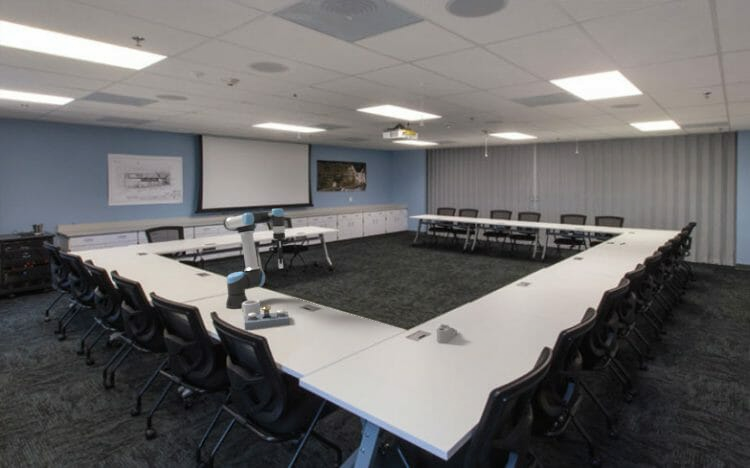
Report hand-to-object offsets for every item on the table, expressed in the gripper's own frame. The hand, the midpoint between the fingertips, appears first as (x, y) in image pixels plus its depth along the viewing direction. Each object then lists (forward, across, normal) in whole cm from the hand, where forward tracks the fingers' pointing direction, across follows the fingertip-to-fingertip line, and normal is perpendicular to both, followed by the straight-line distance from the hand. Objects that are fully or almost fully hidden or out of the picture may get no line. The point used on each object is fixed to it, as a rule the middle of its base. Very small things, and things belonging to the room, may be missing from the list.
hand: (280, 268), depth 271 cm
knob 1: (+30, +17, -20) cm, 39 cm away
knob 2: (+30, +17, -2) cm, 34 cm away
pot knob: (+26, +17, -11) cm, 33 cm away
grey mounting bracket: (+31, +76, +82) cm, 116 cm away
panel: (+30, +17, -11) cm, 37 cm away
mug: (+31, -1, -21) cm, 37 cm away
